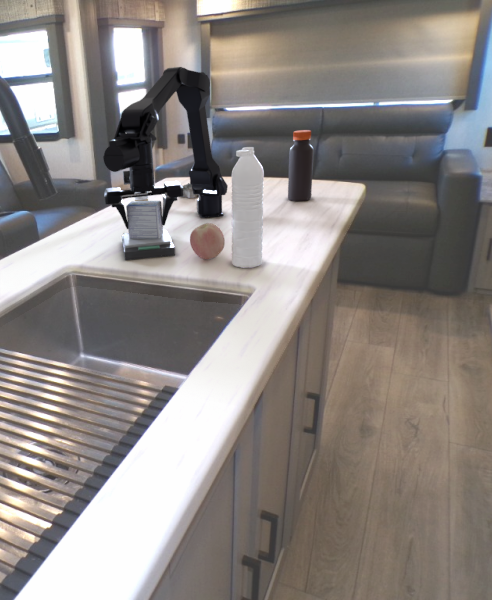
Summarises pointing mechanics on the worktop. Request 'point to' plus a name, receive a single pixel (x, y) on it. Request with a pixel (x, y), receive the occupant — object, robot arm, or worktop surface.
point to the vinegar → (300, 167)
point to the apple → (207, 241)
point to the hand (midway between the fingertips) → (145, 226)
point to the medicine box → (144, 219)
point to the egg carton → (188, 191)
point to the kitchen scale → (147, 247)
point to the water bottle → (247, 210)
